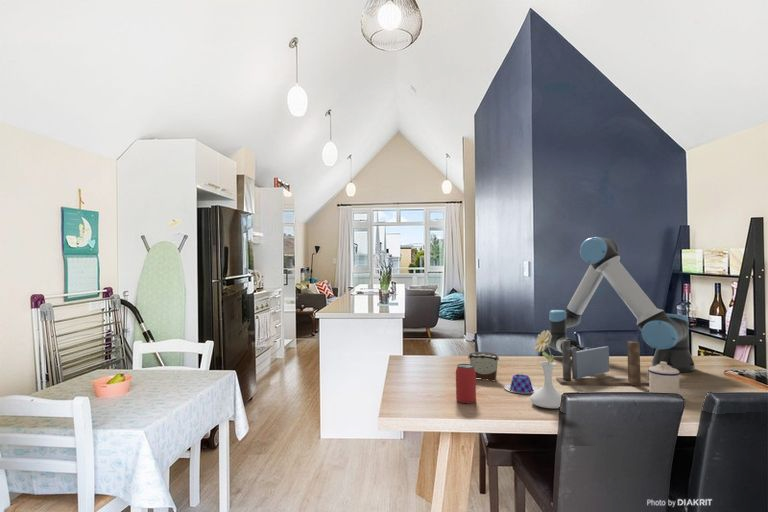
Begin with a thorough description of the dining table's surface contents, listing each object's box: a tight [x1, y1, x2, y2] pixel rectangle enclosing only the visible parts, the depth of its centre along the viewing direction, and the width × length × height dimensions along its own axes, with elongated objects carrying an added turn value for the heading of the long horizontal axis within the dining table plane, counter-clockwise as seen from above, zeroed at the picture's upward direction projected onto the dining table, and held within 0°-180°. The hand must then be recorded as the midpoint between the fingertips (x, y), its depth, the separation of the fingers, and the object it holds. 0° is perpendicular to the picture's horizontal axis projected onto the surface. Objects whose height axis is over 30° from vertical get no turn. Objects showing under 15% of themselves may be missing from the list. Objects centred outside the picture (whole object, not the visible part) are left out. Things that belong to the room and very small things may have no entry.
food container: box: [467, 351, 500, 382], centre depth 171 cm, size 12×6×10 cm, turn 65°
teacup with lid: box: [646, 362, 681, 395], centre depth 146 cm, size 12×9×12 cm
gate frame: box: [555, 340, 649, 387], centre depth 161 cm, size 32×7×16 cm, turn 84°
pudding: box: [504, 373, 540, 395], centre depth 155 cm, size 12×12×5 cm
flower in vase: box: [529, 329, 563, 409], centre depth 137 cm, size 13×11×25 cm
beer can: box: [455, 363, 477, 405], centre depth 144 cm, size 7×7×12 cm
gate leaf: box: [571, 345, 610, 379], centre depth 167 cm, size 21×2×12 cm, turn 119°
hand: (597, 358), depth 171 cm, fingers closed
